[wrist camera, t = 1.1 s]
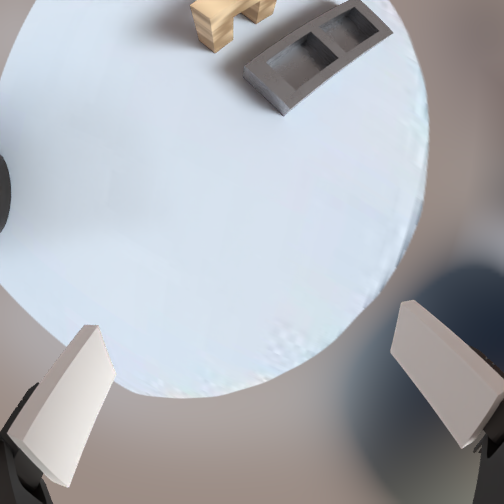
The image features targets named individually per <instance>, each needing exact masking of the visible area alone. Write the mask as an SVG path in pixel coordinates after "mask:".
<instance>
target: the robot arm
mask: <svg viewBox="0 0 504 504" xmlns="http://www.w3.org/2000/svg"><path fill="white" fill-rule="evenodd" d="M10 201H11V186H10V177H9V172H8V169H7V166H6V163H5V161H4V159H3V157H2V156H1V155H0V232H1V231H2V229H3V228H4V226H5V224H6V221H7V218H8V214H9V209H10ZM390 352H391V354H392V355H393V356H394V357H395V359H396V360H397V361H398V363H399V364H400V365H401V366H402V368H403V369H404V370H405V372H406V373H407V374H408V376H409V377H410V378H411V379H412V381H413V382H414V383H415V385H416V386H417V387H418V389H419V390H420V391H421V392H422V394H423V395H424V397H425V398H426V399H427V401H428V402H429V403H430V405H431V406H432V408H433V409H434V410H435V412H436V413H437V414H438V416H439V417H440V418H441V420H442V421H443V423H444V424H445V426H446V427H447V429H448V430H449V431H450V433H451V434H452V436H453V437H454V438H455V440H456V441H457V443H458V444H459V446H460V447H461V448H463V447H465V446H467V445H468V444H470V443H471V442H473V441H474V440H475V439H476V438H477V437H478V436H479V434H480V433H481V431H482V430H484V431H485V432H486V434H485V435H484V437H483V438H482V439H481V440H480V442H479V443H478V444H477V445H476V447H475V448H474V451H473V452H474V453H475V452H476V451H477V450H478V449H479V447H480V446H481V445H482V448H481V449H480V451H479V453H481V459H480V467H479V474H478V480H477V485H476V490H475V495H474V499H473V504H504V373H503V372H502V371H501V370H500V369H499V368H498V367H497V366H496V365H493V362H492V361H490V360H489V359H487V357H486V356H485V355H484V354H483V353H482V352H481V351H479V350H478V349H476V348H474V347H472V346H468V345H467V344H465V343H464V342H463V341H462V340H461V339H460V338H459V337H458V336H456V335H455V334H454V333H453V332H452V331H451V330H450V329H448V328H447V327H446V326H445V325H444V324H443V323H441V322H440V321H439V320H438V319H437V318H435V317H434V316H433V315H432V314H431V313H429V312H428V311H427V310H426V309H425V308H423V307H422V306H421V305H420V304H418V303H417V302H416V301H415V300H410V301H405V302H401V305H400V310H399V315H398V321H397V325H396V329H395V334H394V338H393V342H392V346H391V350H390ZM115 376H116V372H115V369H114V367H113V364H112V362H111V359H110V357H109V354H108V351H107V349H106V346H105V343H104V340H103V337H102V334H101V331H100V328H99V325H84V326H83V327H82V329H81V330H80V331H79V332H78V333H77V335H76V336H75V337H74V338H73V340H72V341H71V342H70V343H69V345H68V346H67V347H66V349H65V350H64V351H63V352H62V354H61V355H60V356H59V358H58V359H57V360H56V362H55V363H54V364H53V366H52V367H51V368H50V370H49V371H48V372H47V374H46V375H45V376H44V378H43V380H42V381H41V382H40V383H36V384H35V385H34V386H33V387H31V388H30V389H29V390H28V391H27V392H26V394H25V396H24V397H23V400H21V401H20V403H19V404H18V407H16V408H15V410H14V411H13V413H12V414H11V416H10V418H9V419H8V421H7V422H6V424H5V425H4V427H3V428H2V430H1V431H0V504H53V502H52V500H51V497H50V495H49V492H48V489H47V487H46V484H45V482H44V480H43V479H42V478H41V477H42V475H43V473H44V474H45V475H46V476H47V477H48V478H49V479H50V480H51V481H52V482H55V483H58V484H60V485H62V486H65V487H68V488H69V486H70V483H71V481H72V478H73V475H74V472H75V470H76V467H77V464H78V462H79V459H80V456H81V454H82V451H83V449H84V446H85V444H86V442H87V439H88V437H89V434H90V432H91V429H92V427H93V425H94V422H95V420H96V418H97V416H98V413H99V411H100V409H101V406H102V404H103V402H104V400H105V397H106V396H107V393H108V391H109V389H110V387H111V385H112V383H113V381H114V378H115Z"/></svg>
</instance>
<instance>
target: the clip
mask: <svg viewBox="0 0 504 504" xmlns="http://www.w3.org/2000/svg"><path fill="white" fill-rule="evenodd" d="M276 1H277V0H197V1H195V2H194V3H192V4H191V5H190V7H191V11H192V15H193V19H194V23H195V27H196V30H197V34H198V38H199V41H200V42H201V43H203V44H204V45H205V46H207V47H208V48H209V49H210V50H212V51H213V52H214V53H216V52H218V51H219V50H220V49H221V48H223V47H224V46H225V45H227V44H228V43H230V42H231V41H232V40H233V17H235V16H236V15H238V14H239V13H242V14H243V15H245V16H246V17H247V18H249V19H250V20H251V21H253V22H254V23H255V24H257V23H259V22H260V21H262V20H264V19H265V18H267V17H268V16H270V15H272V14H273V11H274V8H275V4H276Z"/></svg>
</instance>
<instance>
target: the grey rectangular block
mask: <svg viewBox="0 0 504 504" xmlns="http://www.w3.org/2000/svg"><path fill="white" fill-rule="evenodd" d="M391 34H393V32H392V31H391V30H390V29H389V27H388V26H387V25H386V24H385V23H384V22H383V21H382V20H381V19H380V18H379V17H378V16H377V15H376V14H375V13H374V12H373V11H372V10H370V9H369V8H368V7H367V6H366V5H365V4H364V3H363V2H362V1H361V0H348V1H346V2H344V3H342V4H340V5H338V6H337V7H335V8H333V9H331V10H329V11H327V12H325V13H323V14H322V15H320V16H318V17H316V18H315V19H313V20H311V21H310V22H308V23H306V24H304V25H303V26H301V27H300V28H298V29H296V30H295V31H293V32H292V33H290V34H289V35H287V36H285V37H284V38H282V39H281V40H279V41H278V42H276V43H275V44H274V45H272V46H271V47H269V48H268V49H266V50H265V51H264V52H262V53H261V54H259V55H258V56H257V57H255V58H254V59H253V60H251V61H250V62H249V63H247V64H246V65H245V66H244V74H243V78H245V79H246V80H247V81H248V82H249V83H250V84H251V85H252V86H253V87H254V88H255V89H256V90H258V91H259V92H260V93H261V94H262V95H263V96H264V97H265V98H266V99H267V100H268V101H269V102H270V103H271V104H272V105H273V106H274V107H275V108H276V109H277V110H278V111H279V112H280V113H281V114H282V115H283V116H285V115H286V114H287V113H288V112H289V111H291V110H292V109H293V108H294V107H295V106H297V105H298V104H299V103H300V102H301V101H303V100H304V99H305V98H306V97H308V96H309V95H310V94H311V93H312V92H314V91H315V90H316V89H318V88H319V87H320V86H321V85H323V84H324V83H325V82H326V81H328V80H329V79H330V78H332V77H333V76H334V75H336V74H337V73H338V72H340V71H341V70H342V69H344V68H345V67H346V66H348V65H349V64H350V63H352V62H353V61H355V60H356V59H357V58H359V57H360V56H362V55H363V54H364V53H366V52H367V51H369V50H370V49H372V48H373V47H375V46H376V45H378V44H379V43H380V42H382V41H383V40H385V39H386V38H387V37H389V36H390V35H391Z"/></svg>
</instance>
